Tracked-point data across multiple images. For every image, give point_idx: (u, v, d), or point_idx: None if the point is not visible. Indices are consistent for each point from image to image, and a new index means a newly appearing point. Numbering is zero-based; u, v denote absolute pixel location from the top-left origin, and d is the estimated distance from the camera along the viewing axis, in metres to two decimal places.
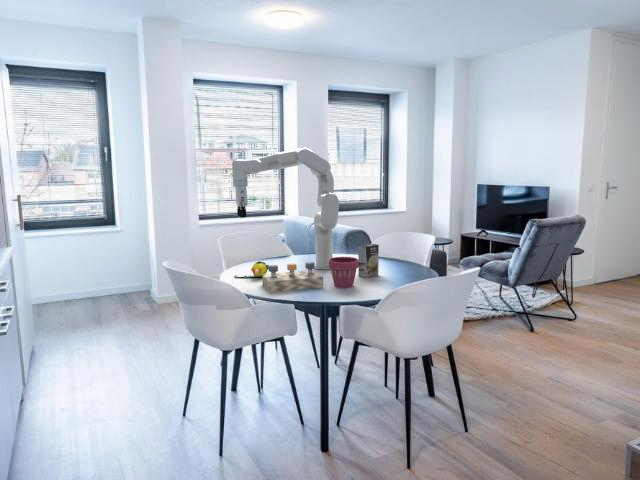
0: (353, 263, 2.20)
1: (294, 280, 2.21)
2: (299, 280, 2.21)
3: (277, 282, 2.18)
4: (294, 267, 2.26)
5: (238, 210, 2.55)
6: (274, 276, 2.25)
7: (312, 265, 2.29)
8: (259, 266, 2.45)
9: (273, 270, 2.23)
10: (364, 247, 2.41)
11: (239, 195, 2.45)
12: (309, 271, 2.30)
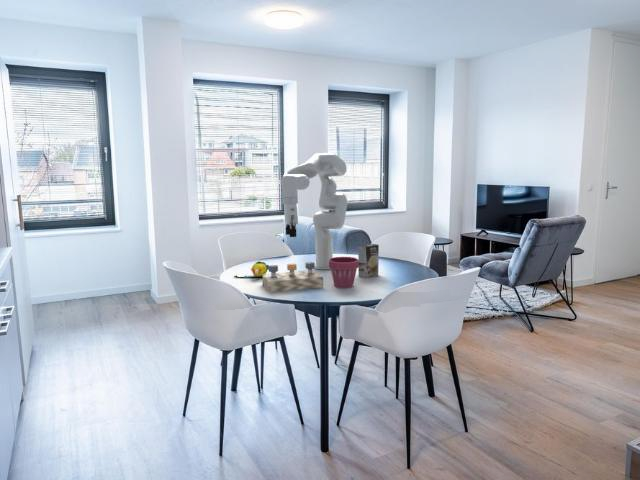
0: (353, 263, 2.20)
1: (294, 280, 2.21)
2: (299, 280, 2.21)
3: (277, 282, 2.18)
4: (294, 267, 2.26)
5: (287, 229, 2.38)
6: (274, 276, 2.25)
7: (312, 265, 2.29)
8: (259, 266, 2.46)
9: (273, 270, 2.23)
10: (364, 247, 2.41)
11: (289, 213, 2.28)
12: (309, 271, 2.30)
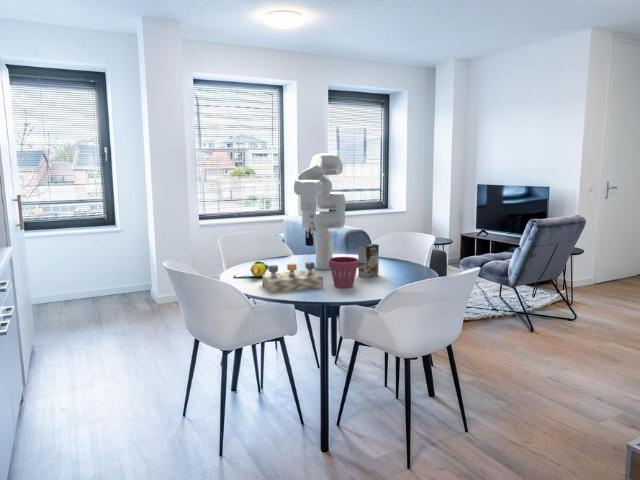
0: (353, 263, 2.20)
1: (294, 280, 2.21)
2: (299, 280, 2.21)
3: (277, 282, 2.18)
4: (294, 267, 2.26)
5: (306, 239, 2.29)
6: (274, 276, 2.25)
7: (312, 265, 2.29)
8: (258, 266, 2.45)
9: (273, 270, 2.23)
10: (364, 247, 2.41)
11: (308, 220, 2.22)
12: (309, 271, 2.30)
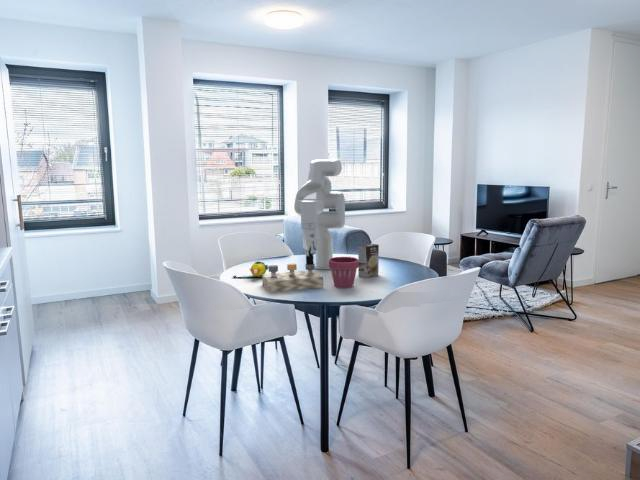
0: (353, 263, 2.20)
1: (294, 280, 2.21)
2: (299, 280, 2.21)
3: (277, 282, 2.18)
4: (294, 267, 2.26)
5: None
6: (274, 276, 2.25)
7: (312, 266, 2.29)
8: (258, 266, 2.45)
9: (273, 270, 2.23)
10: (364, 247, 2.41)
11: (309, 239, 2.23)
12: (309, 272, 2.30)
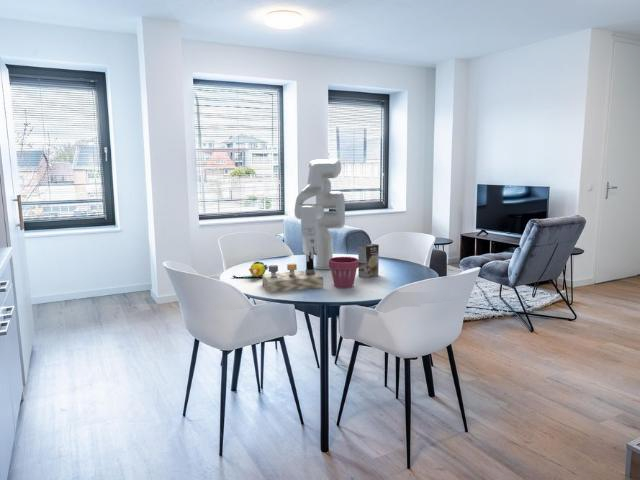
0: (353, 263, 2.20)
1: (294, 280, 2.21)
2: (299, 280, 2.21)
3: (277, 282, 2.18)
4: (294, 267, 2.26)
5: None
6: (274, 276, 2.25)
7: (312, 271, 2.29)
8: (257, 266, 2.45)
9: (273, 270, 2.23)
10: (364, 247, 2.41)
11: (309, 245, 2.24)
12: None
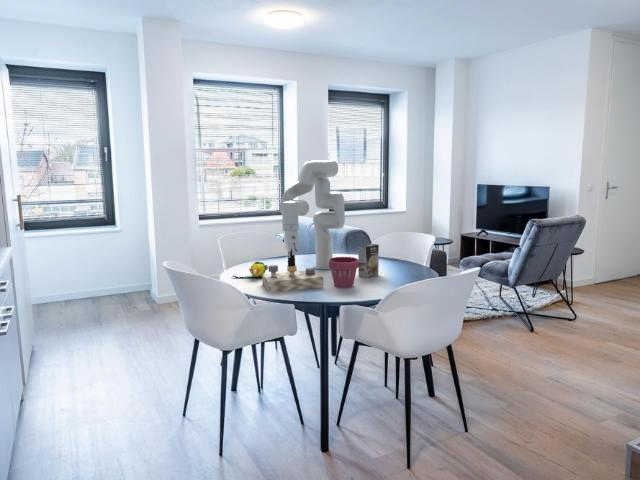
0: (353, 263, 2.20)
1: (294, 280, 2.21)
2: (299, 280, 2.21)
3: (277, 282, 2.18)
4: (294, 268, 2.26)
5: None
6: (274, 276, 2.25)
7: (312, 271, 2.29)
8: (257, 266, 2.45)
9: (273, 270, 2.23)
10: (364, 247, 2.41)
11: (290, 241, 2.21)
12: None
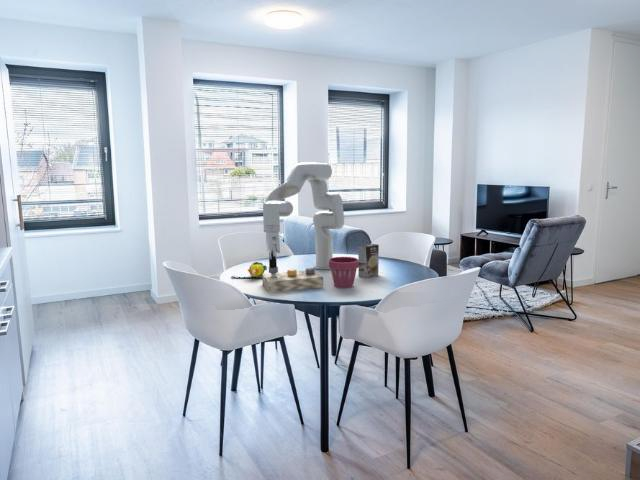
0: (353, 263, 2.20)
1: (294, 280, 2.21)
2: (299, 280, 2.21)
3: (277, 282, 2.18)
4: (294, 273, 2.26)
5: None
6: (274, 277, 2.25)
7: (312, 271, 2.29)
8: (256, 267, 2.44)
9: (273, 272, 2.23)
10: (364, 247, 2.41)
11: (271, 242, 2.18)
12: None
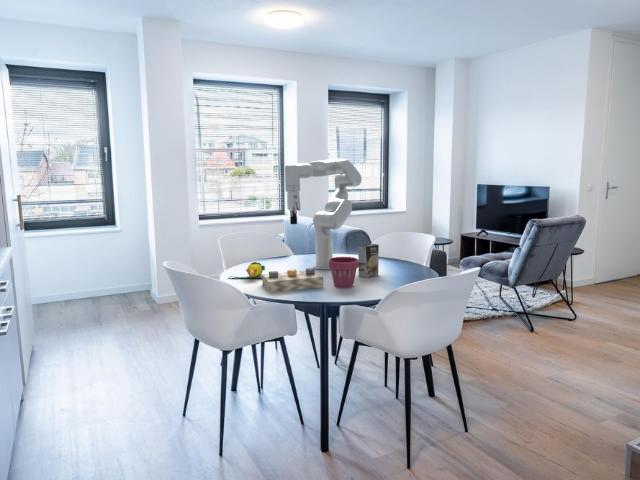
0: (353, 263, 2.20)
1: (294, 280, 2.21)
2: (299, 280, 2.21)
3: (277, 282, 2.18)
4: (294, 273, 2.26)
5: None
6: None
7: (312, 271, 2.29)
8: (254, 267, 2.44)
9: (273, 276, 2.24)
10: (364, 247, 2.41)
11: (292, 200, 2.41)
12: None
